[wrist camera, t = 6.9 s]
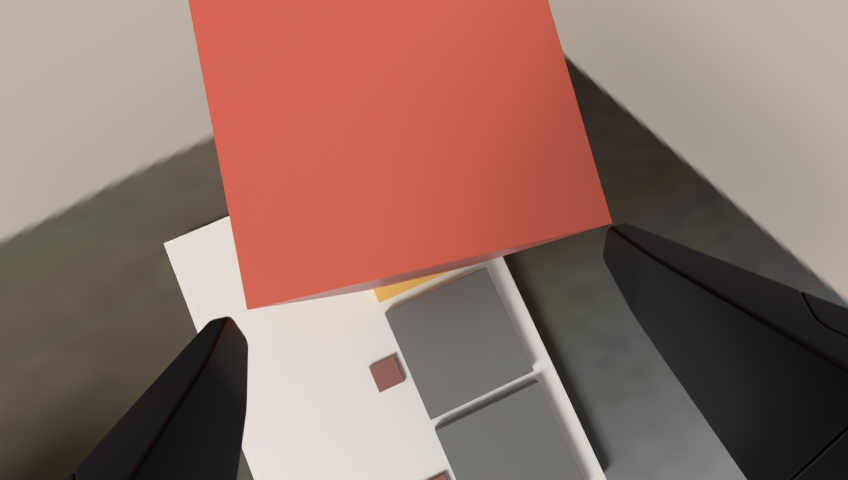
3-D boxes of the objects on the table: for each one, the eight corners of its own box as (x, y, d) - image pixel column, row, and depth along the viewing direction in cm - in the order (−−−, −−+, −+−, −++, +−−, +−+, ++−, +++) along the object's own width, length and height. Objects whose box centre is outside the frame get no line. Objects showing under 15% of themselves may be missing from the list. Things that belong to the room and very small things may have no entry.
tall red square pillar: (467, 266, 18) (612, 223, 5) (370, 289, 18) (247, 310, 5) (444, 171, 18) (518, -101, 5) (348, 193, 18) (181, -37, 5)
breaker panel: (601, 477, 18) (615, 492, 17) (318, 619, 17) (311, 646, 16) (440, 132, 20) (442, 121, 18) (174, 245, 19) (156, 242, 18)
